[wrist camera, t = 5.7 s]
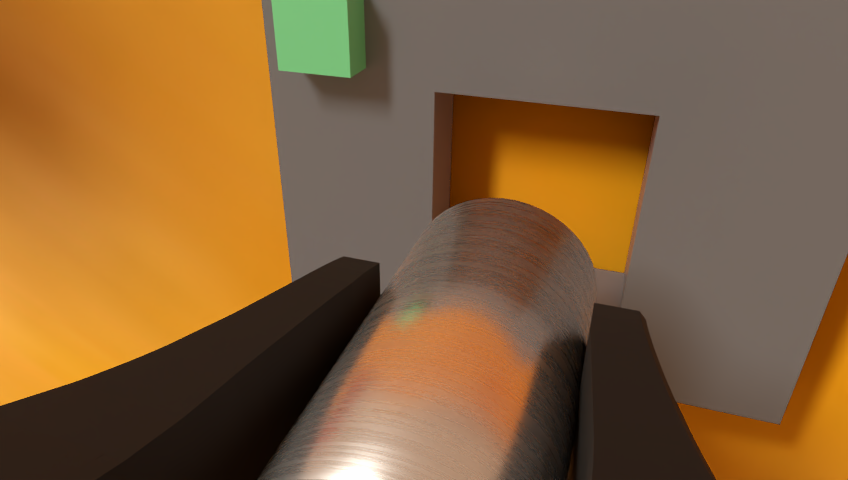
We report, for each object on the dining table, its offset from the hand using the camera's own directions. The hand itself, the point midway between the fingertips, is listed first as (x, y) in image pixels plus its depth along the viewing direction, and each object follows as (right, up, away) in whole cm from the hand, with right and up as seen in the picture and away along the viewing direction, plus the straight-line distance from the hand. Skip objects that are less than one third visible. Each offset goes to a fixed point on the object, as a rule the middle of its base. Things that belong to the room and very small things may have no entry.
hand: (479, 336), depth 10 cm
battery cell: (+1, +1, +1) cm, 2 cm away
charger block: (+2, +3, +5) cm, 6 cm away
